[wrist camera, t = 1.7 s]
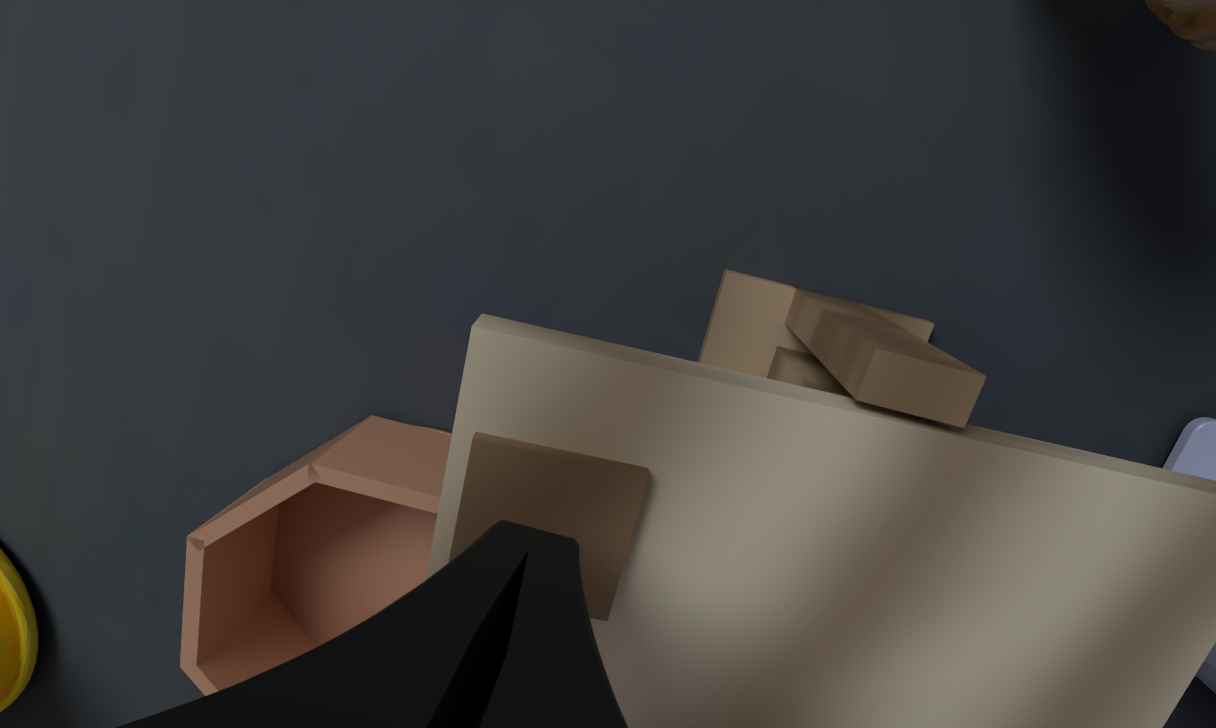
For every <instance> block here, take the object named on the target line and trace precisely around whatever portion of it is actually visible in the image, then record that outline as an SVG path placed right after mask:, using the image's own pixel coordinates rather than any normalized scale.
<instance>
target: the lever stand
mask: <svg viewBox="0 0 1216 728" xmlns="http://www.w3.org/2000/svg"><path fill="white" fill-rule="evenodd" d="M933 327H934V324H933V323H931V322H929V321H927V320H925V319H921V318H917V317H913V316H909V315H905V314H901V313H897V312H893V311H889V310H885V309H881V308H877V307H873V306H869V305H866V304H862V303H858V302H854V301H850V300H846V299H842V298H838V297H834V296H830V295H826V294H822V293H818V292H814V291H810V290H806V289H802V288H798V287H794V286H790V285H786V284H782V283H778V282H775V281H771V280H767V279H763V278H759V277H755V276H751V275H747V274H743V273H739V272H735V271H731V270H727V269H725V270H724V274H723V277H722V280H721V284H720V287H719V291H718V294H717V297H716V301H715V304H714V308H713V311H712V314H711V318H710V321H709V325H708V328H707V331H706V335H705V338H704V342H703V345H702V348H701V352H700V355H699V359H698V362H697V363H701V364H706V365H710V366H715V367H719V368H723V369H728V370H732V371H737V372H741V373H745V374H750V375H754V376H758V377H763V378H767V379H772V380H776V381H780V382H785V383H789V384H794V385H798V386H802V387H807V388H811V389H815V390H820V391H824V392H829V393H833V394H837V395H842V396H846V397H851V398H855V400H857V401H861V402H865V403H869V404H873V405H877V406H881V407H884V408H888V409H892V410H896V411H900V412H904V413H908V414H912V415H916V416H920V417H924V418H928V419H931V420H935V421H939V422H943V423H947V424H951V425H955V426H959V427H963V428H965V425H966V423H967V421H968V418H969V416H970V414H971V411H972V409H973V407H974V404H975V402H976V400H977V398H978V395H979V393H980V391H981V388H982V386H983V384H984V381H985V379H986V377H987V376H985V375H983V374H981V373H980V372H978V371H976V370H974V369H973V368H971V367H969V366H968V365H966V364H964V363H962V362H961V361H959V360H957V359H955V358H954V357H952V356H950V355H948V354H947V353H945V352H943V351H942V350H940V349H938V348H936V347H935V346H933V345H931V344H929V343H928V339H929V337H930V334H931V332H932V329H933Z"/></svg>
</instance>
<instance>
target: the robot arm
mask: <svg viewBox="0 0 1216 728" xmlns="http://www.w3.org/2000/svg"><path fill="white" fill-rule="evenodd" d="M1162 469H1167V470H1171V471H1175V472H1180V473H1184V474H1188V475H1193V476H1197V477H1202V478H1206V479H1210V480H1215V481H1216V419H1212V418H1206V417H1201V418H1197V419H1194V420H1193V421H1191V422H1190V423H1188V424H1187V426H1186V427H1185V428H1184V429H1183V431H1182V433H1181V435H1180V437H1179V439H1178V440H1177V442H1176V444H1175V446H1174V448H1173V450H1172V452H1171V453H1170V455H1169V457H1168V459H1167V461H1166V463H1165V464H1164V466H1163V468H1162ZM579 549H580V546H579V545H578V543H577V541H576V540H575V539H574V538H571V537H567V536H563V535H559V534H555V533H551V532H547V531H544V530H540V529H536V528H532V527H528V526H524V525H521V524H517V523H513V522H509V521H505V520H501V521H499V522H497V523H495V524H493V525H492V526H491V527H490V528H489V529H488V530H487V531H486V532H485V533H484V534H483V535H482V536H480V537H479V538H478V539H477V540H476V541H475V542H474V543H472V544H471V545H470V546H469V547H468V548H467V549H465V550H464V551H463V552H462V553H460V554H459V555H458V556H457V557H456V558H454V559H453V560H452V561H450V562H449V563H448V564H446V565H445V566H444V567H443V568H441V569H440V570H439V571H437V572H436V573H435V574H433V575H432V576H431V577H429V578H428V579H427V580H425V581H424V582H423V583H421V584H420V585H418V586H417V587H416V588H414V589H413V590H411V591H410V592H408V593H406V594H405V595H403V596H402V597H400V598H399V599H397V600H396V601H394V602H393V603H391V604H390V605H388V606H387V607H385V608H384V609H382V610H381V611H379V612H378V613H376V614H375V615H373V616H371V617H370V618H368V619H366V620H365V621H363V622H361V623H360V624H358V625H356V626H354V627H353V628H351V629H349V630H347V631H346V632H344V633H342V634H340V635H338V636H337V637H335V638H333V639H331V640H329V641H327V642H325V643H324V644H322V645H320V646H318V647H316V648H314V649H312V650H310V651H308V652H306V653H304V654H302V655H300V656H298V657H295V658H293V659H291V660H289V661H287V662H285V663H283V664H280V665H278V666H276V667H274V668H271V669H269V670H267V671H265V672H263V673H260V674H258V675H256V676H254V677H251V678H249V679H247V680H245V681H243V682H240V683H238V684H235V685H233V686H230V687H228V688H225V689H223V690H220V691H217V692H215V693H212V694H210V695H207V696H204V697H202V698H199V699H197V700H194V701H191V702H189V703H186V704H183V705H180V706H177V707H174V708H172V709H169V710H166V711H163V712H160V713H157V714H155V715H152V716H149V717H146V718H143V719H140V720H137V721H134V722H131V723H128V724H125V725H122V726H119V727H116V728H628V726H627V723H626V721H625V719H624V716H623V714H622V712H621V710H620V707H619V705H618V702H617V700H616V697H615V695H614V692H613V690H612V687H611V684H610V682H609V679H608V676H607V673H606V670H605V668H604V665H603V662H602V659H601V656H600V653H599V650H598V646H597V643H596V640H595V636H594V633H593V629H592V625H591V621H590V617H589V613H588V609H587V605H586V601H585V596H584V591H583V585H582V579H581V572H580V562H579ZM1195 676H1196V677H1198V678H1199V679H1200V680H1201V681H1202V682H1203V683H1204V684H1205V685H1207V686H1208V687H1209V688H1210V689H1211V690H1212V691H1213V692H1214V693H1215V694H1216V642H1215V644H1214V645H1213V647H1212V649H1211V650H1210V652H1209V654H1208V655H1207V657H1206V658H1205V660H1204V662H1203V663H1202V665H1201V666H1200V668H1199V670H1198V671H1197V673H1196V674H1195Z"/></svg>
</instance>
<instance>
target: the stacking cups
mask: <svg viewBox="0 0 1216 728" xmlns="http://www.w3.org/2000/svg"><path fill="white" fill-rule="evenodd" d="M38 643H39V641H38V627H37V621H36V616H35V611H34V608H33V605H32V602H31V600H30V597H29V594H28V591H27V589H26V587H25V585H24V583H23V580H22V578H21V576H20V575H19V573H18V572H17V570H16V569H15V567H14V566H13V564H12V563H11V561H10V560H9V558H8V557H7V556H6V555H5V554H4V552H3V551H2V550H1V549H0V712H1V711H3V710H4V709H5V708H6V707H8V706H9V705H10V704H12V703H13V702H14V701H15V700H16V699H17V697H18V696H19V695H20V694H21V693H22V691H23V690H24V689H25V687H26V685H27V684H28V682H29V680H30V678H31V675H32V673H33V670H34V667H35V665H36V660H37V652H38Z"/></svg>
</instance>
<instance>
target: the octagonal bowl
mask: <svg viewBox="0 0 1216 728" xmlns="http://www.w3.org/2000/svg"><path fill="white" fill-rule="evenodd" d="M451 438H452V432H450V431H447V430H444V429H438V428H433V427H428V426H423V425H411V424H404V423H400V422H396V421H392V420H388V419H385V418H381V417H377V416H373V415H371V416H369V417H368V418H366V419H365V420H363V421H361V422H360V423H358V424H356V425H355V426H353V427H351V428H350V429H348V430H346V431H345V432H343V433H342V434H340V435H338V436H337V437H335V438H333V439H332V440H330V441H328V442H326V443H324V444H322V445H321V446H319V447H318V448H317V449H315V450H313V451H312V452H310V453H308V454H307V455H305V456H303V457H302V458H300V459H298V460H297V461H295V462H294V463H292V464H290V465H289V466H287V467H285V468H284V469H282V470H280V471H279V472H277V473H275V474H274V475H272V476H270V477H269V478H266V479H265V480H264V481H262V482H261V483H259V484H258V485H257V486H255V487H254V488H253V489H251V490H250V491H248V492H247V493H246V494H244V495H243V496H242V497H240V498H239V499H237V500H236V501H235V502H233V503H232V504H231V505H229V506H228V507H227V508H225V509H224V510H222V511H221V512H220V513H218V514H217V515H216V516H214V517H213V518H211V519H210V520H209V521H207V522H206V523H205V524H203V525H202V526H200V527H199V528H198V529H196V530H195V531H194V532H192V533H191V534H189V535H188V536H187V549H186V567H185V585H184V603H183V621H182V639H181V658H180V667H181V668H182V670H183V671H184V672H185V673H186V674H187V675H188V677H189V678H190V679H191V680H192V681H193V682H194V683H195V685H196V686H197V687H198V688H199V689H200V690H201V691H202V693H203V694H204V695H205V696H207V695H210V694H212V693H215V692H217V691H220V690H223V689H225V688H228V687H230V686H233V685H235V684H238V683H240V682H243V681H245V680H247V679H249V678H251V677H254V676H256V675H258V674H260V673H263V672H265V671H267V670H269V669H271V668H274V667H276V666H278V665H280V664H283V663H285V662H287V661H289V660H291V659H293V658H295V657H298V656H300V655H302V654H304V653H306V652H308V651H310V650H312V649H314V648H316V647H318V646H320V645H322V644H324V643H325V642H327V641H329V640H331V639H333V638H335V637H337V636H338V635H340V634H342V633H344V632H346V631H347V630H349V629H351V628H353V627H354V626H356V625H358V624H360V623H361V622H363V621H365V620H366V619H368V618H370V617H371V616H373V615H375V614H376V613H378V612H379V611H381V610H382V609H384V608H385V607H387V606H388V605H390V604H391V603H393V602H394V601H396V600H397V599H399V598H400V597H402V596H403V595H405V594H406V593H408V592H410V591H411V590H413V589H414V588H416V587H417V586H418V585H420V584H421V583H423V582H424V581H425V580H426V574H427V569H428V563H429V558H430V552H431V547H432V541H433V536H434V531H435V525H436V520H437V514H438V509H439V503H440V498H441V492H442V487H443V481H444V476H445V470H446V465H447V459H448V454H449V449H450V443H451Z"/></svg>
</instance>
